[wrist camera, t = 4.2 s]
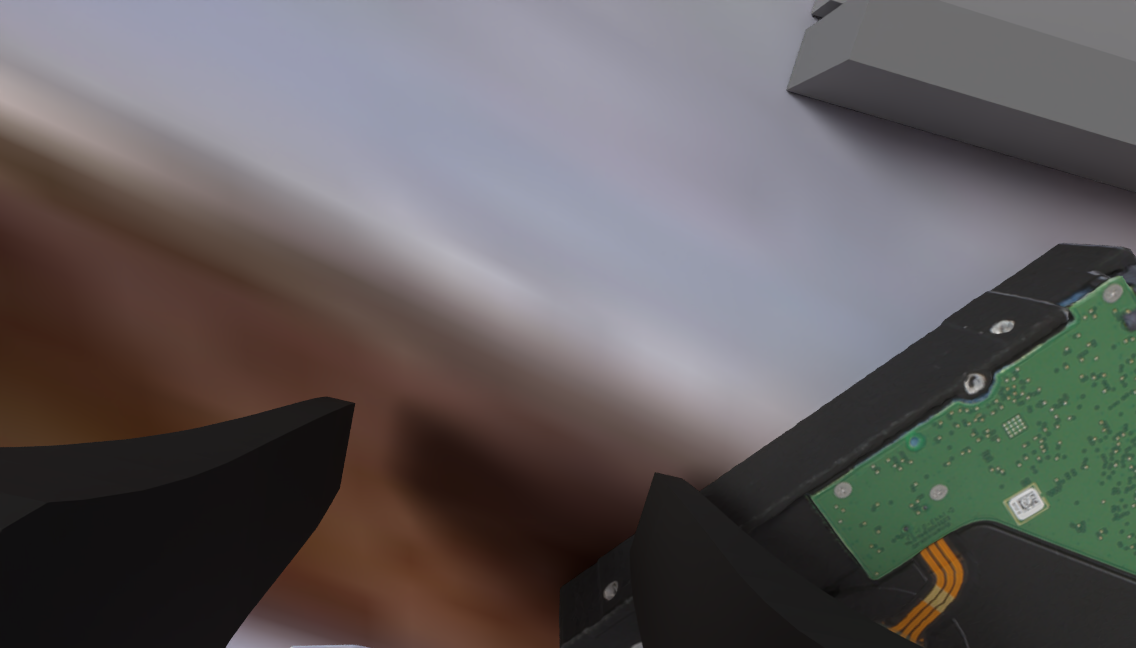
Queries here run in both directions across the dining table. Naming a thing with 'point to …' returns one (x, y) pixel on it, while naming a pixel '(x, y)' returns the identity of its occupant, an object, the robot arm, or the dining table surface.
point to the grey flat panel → (987, 75)
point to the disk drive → (955, 478)
